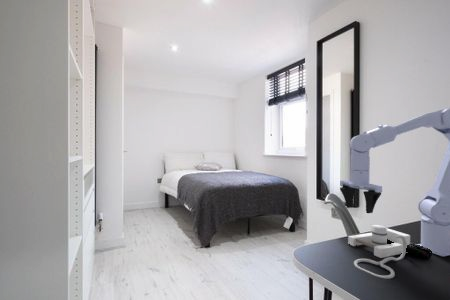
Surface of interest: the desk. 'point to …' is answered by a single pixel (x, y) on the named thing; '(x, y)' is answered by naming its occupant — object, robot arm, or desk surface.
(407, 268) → the desk surface
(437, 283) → the desk surface
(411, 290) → the desk surface
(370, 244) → the notched shelf
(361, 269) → the hook
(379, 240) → the white ridged cylinder
